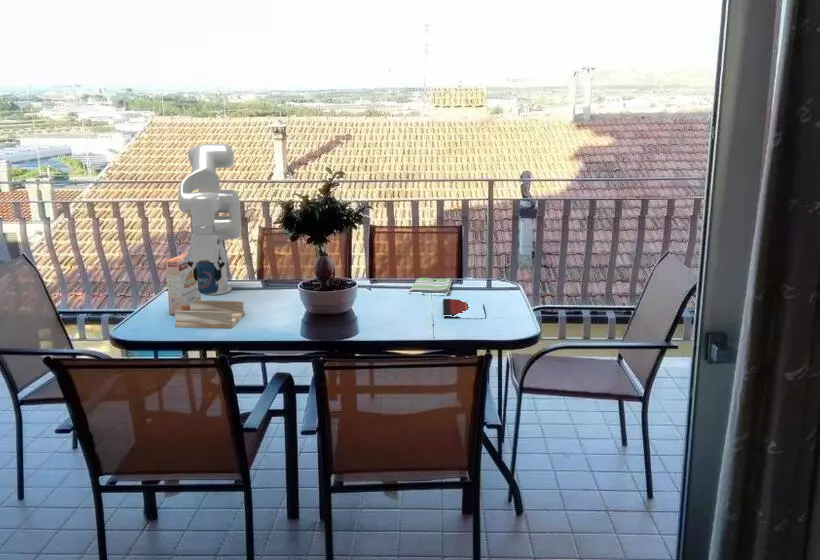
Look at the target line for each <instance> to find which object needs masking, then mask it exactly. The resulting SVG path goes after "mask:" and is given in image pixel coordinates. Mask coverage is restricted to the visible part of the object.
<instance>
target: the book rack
mask: <svg viewBox="0 0 820 560" xmlns="http://www.w3.org/2000/svg"><path fill="white" fill-rule="evenodd" d="M189 304H190V311H179V310H176V311H175V315H174V319H175V322H174V327H175V328H194V329H197V328H200V329H201V328H202V329H203V328H204V329H205V328H206V329H211V328H212V329H231V328H233V327H234V326H235V325H236V324H237V323H238V322H239V321H240V320H241V319H242V318H243V317H244V316H245V314H246V312H245V310H244V309H245V308H244V300H211V299H209V300H207V299H201V300H190V301H189ZM234 324H235V325H234Z"/></svg>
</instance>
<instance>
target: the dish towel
mask: <svg viewBox="0 0 820 560" xmlns="http://www.w3.org/2000/svg"><path fill="white" fill-rule="evenodd" d="M434 280H436V281H435V282H434ZM452 282H453V283H454V281H453V278H452V277H450V278H449V277H447V278H436V279H435V278H431V277H418V278H417V279H416V280H415V282H414V283H413V284H412V286H411V287H412V288H411V287H410V289H409V290H408V293H409V292H422V293H444V294H446V293H449V292H450V291H451V289H450V287H451V288H452V286H451V284H452ZM435 285H439V286H435ZM452 285H453V284H452ZM449 294H450V293H449Z"/></svg>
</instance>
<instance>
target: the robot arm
mask: <svg viewBox="0 0 820 560" xmlns="http://www.w3.org/2000/svg"><path fill="white" fill-rule="evenodd" d="M187 157H188V161H189V164H190V166H191V168H192V169H191V172H190V173H189V174H188V175H187V176H185V178H183V180H182V181H181V183H180V184H179V187H178V194H177V195H178V198H177V199H178V200H177V201H178V202H177V203H178V208H179V210H180V211H181V213H183V214H185V215H188V214H189V215H191V222H192V223H191V225H192V234H191V235H190V236H191V237H190V245H189V247H190V248H189V249H190V251H189V254H188V255H186V256H185V257H184V260H185V261H186V263H188V265H189V266H190V267H191V268H192V270H193V276H194V278H195V281H197V280H198V279H197V263H198V262H199V261H203V262H206V261H210V262H211V263H213V264H214V266H215V267H216V270H215V277H216V281H218V291H217V292H216V293H214V294H207V296H208V295H211V296H217V295H223V294H227V293H230V292H231V291H232V287H231V286H230V285H228V281H229V278H228V276H227V272H228V271H227V263H228V261H229V260H230V258H229V257H228V256H227V255H226V250H225V247H224V246H223V245H222V244H221V240H236V239H239V238H240V237H241V236H242V218H241V204H240V203H241V202H240V197H239V193H238V192H237V191H236V190H233V189H221V186H220V177H219V175H218V174H217V170H216V169H219V168H220V169H226V168H227V169H228V168H232V167H233V165H234V162H235V154H234V150H233V149H232V147H231V146H230V145H228V144H225V143H224V144H223V143H215V144H214V143H211V144H210V143H209V144H208V143H205V144H202V143H201V144H199V145H197V146H195V147H190V148H189V149H188V151H187ZM196 190H198V192H196ZM215 214H228V216H227V215H226V216H218V215H217V216H215ZM190 257H191V260H190V259H189V258H190ZM193 262H194V263H193Z"/></svg>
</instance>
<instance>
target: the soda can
mask: <svg viewBox="0 0 820 560" xmlns="http://www.w3.org/2000/svg"><path fill="white" fill-rule="evenodd" d="M215 270H216V267H215V266H214V264H213V263H211V262H210V261H206V262H203V261H199V262H198V263H197V279H198V290H199V292H200V294H201V295H206V294H214V293H216V292H217V291H218V281H216V277H215Z"/></svg>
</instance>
